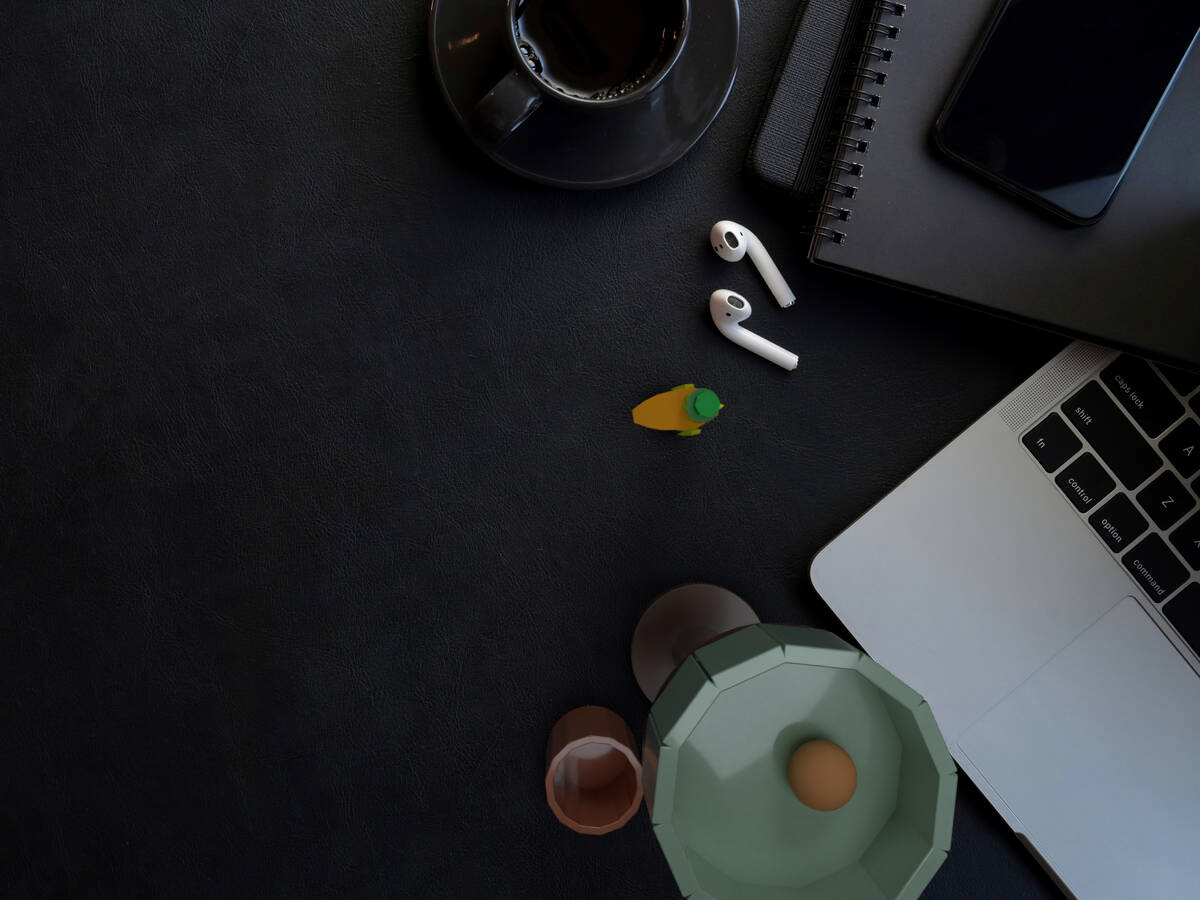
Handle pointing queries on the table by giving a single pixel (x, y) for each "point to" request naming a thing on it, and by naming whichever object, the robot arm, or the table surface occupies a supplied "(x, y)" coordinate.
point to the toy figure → (679, 410)
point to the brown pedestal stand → (683, 631)
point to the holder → (593, 771)
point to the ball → (822, 775)
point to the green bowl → (760, 773)
